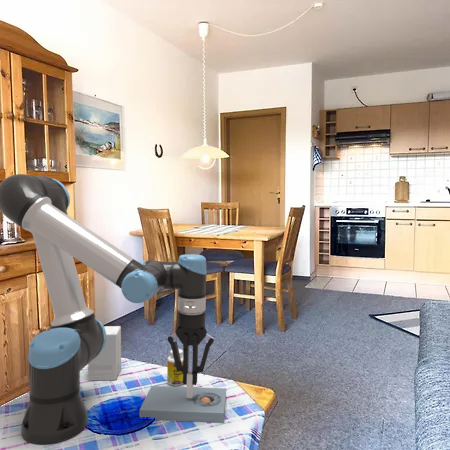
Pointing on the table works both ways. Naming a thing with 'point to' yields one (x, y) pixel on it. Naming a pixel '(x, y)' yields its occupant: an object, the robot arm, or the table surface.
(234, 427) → the table surface
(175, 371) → the supplement bottle
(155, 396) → the plate
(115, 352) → the supplement box
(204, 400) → the ball
